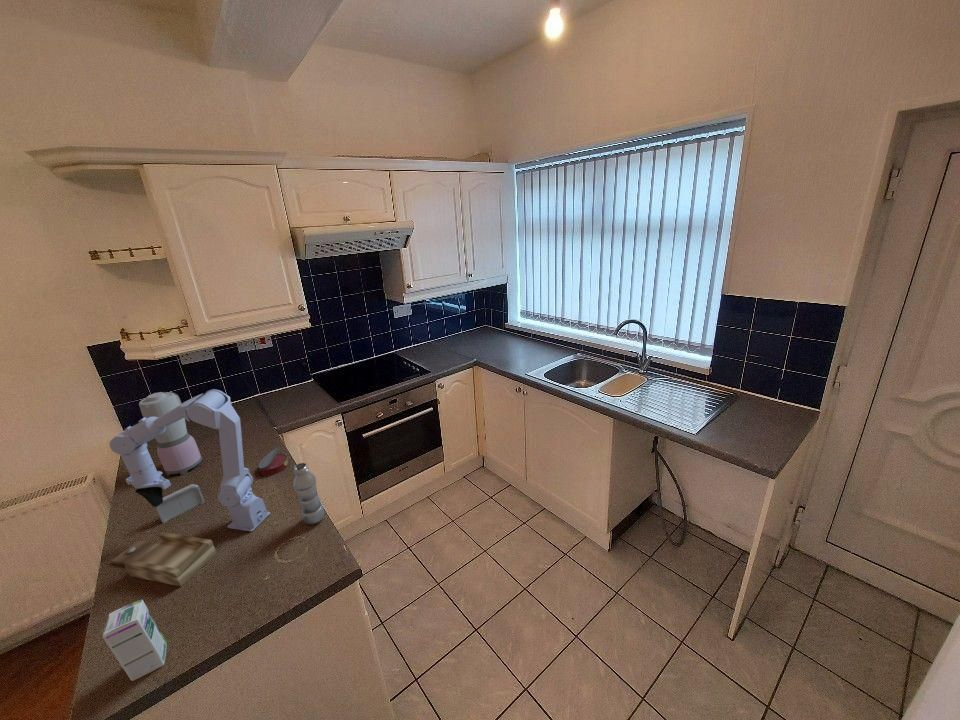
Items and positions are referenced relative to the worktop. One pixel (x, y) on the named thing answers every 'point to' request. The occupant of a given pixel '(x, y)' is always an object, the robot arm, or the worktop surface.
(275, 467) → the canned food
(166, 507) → the arched grey pull
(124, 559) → the lid plate
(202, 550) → the oak box
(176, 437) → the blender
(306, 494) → the plastic bottle
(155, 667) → the syrup box
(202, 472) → the worktop surface
